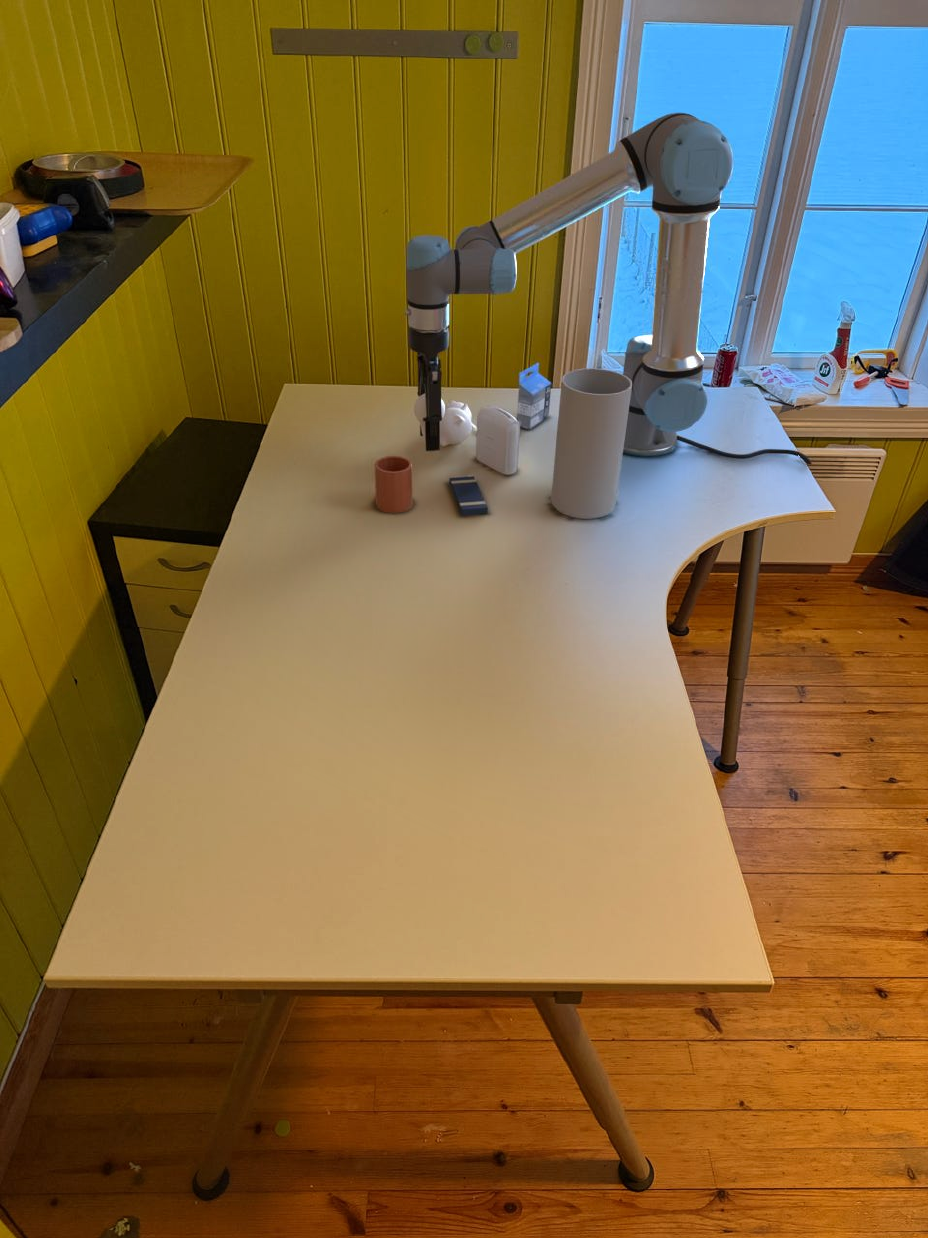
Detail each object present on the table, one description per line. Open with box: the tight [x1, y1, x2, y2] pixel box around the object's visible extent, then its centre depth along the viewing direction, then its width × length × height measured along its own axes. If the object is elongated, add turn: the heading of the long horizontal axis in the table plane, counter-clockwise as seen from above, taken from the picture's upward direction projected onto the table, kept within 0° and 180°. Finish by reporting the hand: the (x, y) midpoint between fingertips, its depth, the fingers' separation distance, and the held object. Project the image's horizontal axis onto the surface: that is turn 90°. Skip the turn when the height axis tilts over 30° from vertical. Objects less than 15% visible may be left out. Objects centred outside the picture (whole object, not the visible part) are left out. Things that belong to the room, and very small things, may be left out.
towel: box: [448, 475, 489, 517], centre depth 178 cm, size 5×13×1 cm, turn 11°
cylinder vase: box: [550, 367, 632, 520], centre depth 170 cm, size 12×12×25 cm
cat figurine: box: [440, 399, 477, 447], centre depth 198 cm, size 9×11×12 cm
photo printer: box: [475, 405, 521, 476], centre depth 186 cm, size 10×4×12 cm, turn 39°
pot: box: [373, 455, 414, 514], centre depth 173 cm, size 7×7×8 cm
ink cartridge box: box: [516, 362, 552, 430], centre depth 205 cm, size 9×4×12 cm, turn 147°
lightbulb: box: [413, 394, 446, 446], centre depth 179 cm, size 6×6×11 cm
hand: (429, 442), depth 182 cm, fingers closed on lightbulb, 6 cm apart
